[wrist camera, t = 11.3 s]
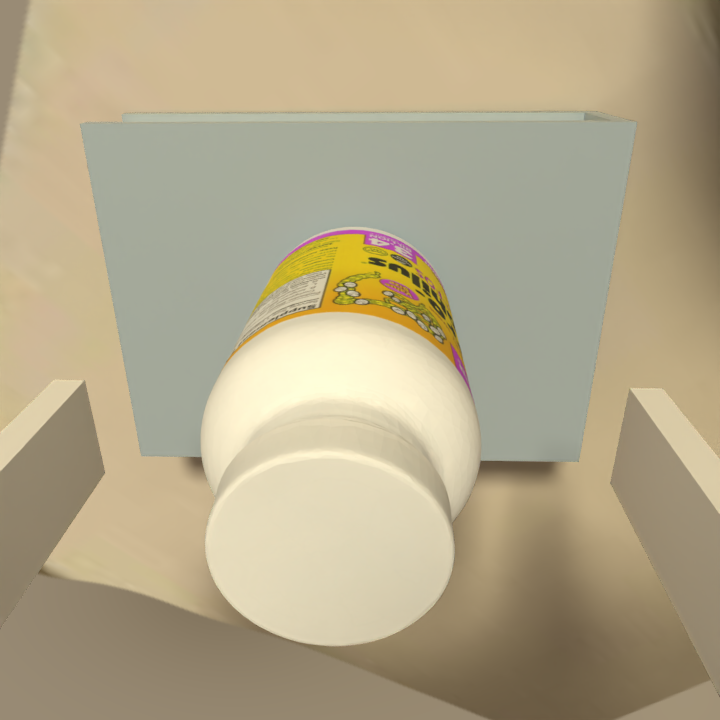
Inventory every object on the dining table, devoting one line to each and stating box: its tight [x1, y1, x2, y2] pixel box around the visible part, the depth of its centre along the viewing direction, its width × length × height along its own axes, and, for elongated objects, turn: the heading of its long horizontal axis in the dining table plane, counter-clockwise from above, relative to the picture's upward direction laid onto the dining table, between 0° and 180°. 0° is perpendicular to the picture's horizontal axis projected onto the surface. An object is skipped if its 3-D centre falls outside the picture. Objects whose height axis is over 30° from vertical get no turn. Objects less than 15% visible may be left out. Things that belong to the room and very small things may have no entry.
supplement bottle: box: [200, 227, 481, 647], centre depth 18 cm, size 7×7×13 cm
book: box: [80, 111, 637, 462], centre depth 25 cm, size 18×13×4 cm
